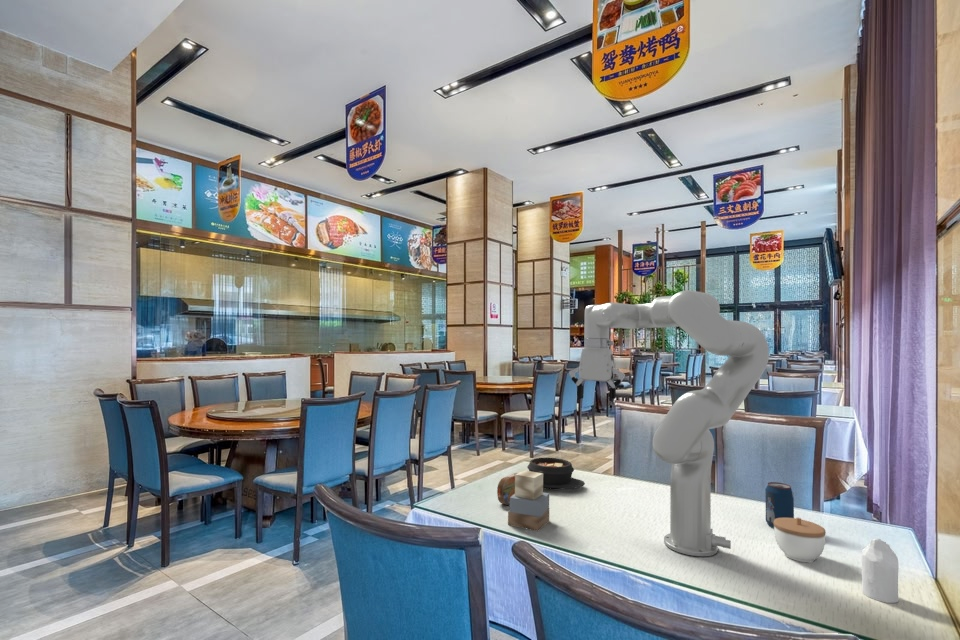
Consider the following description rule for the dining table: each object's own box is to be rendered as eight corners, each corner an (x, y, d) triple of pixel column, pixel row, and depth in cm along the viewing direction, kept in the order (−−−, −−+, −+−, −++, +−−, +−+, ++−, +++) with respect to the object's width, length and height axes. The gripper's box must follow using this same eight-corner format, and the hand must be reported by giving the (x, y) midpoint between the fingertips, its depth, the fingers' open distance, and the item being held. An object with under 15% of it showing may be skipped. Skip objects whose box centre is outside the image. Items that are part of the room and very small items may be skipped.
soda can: (796, 527, 138) (795, 485, 139) (791, 533, 133) (790, 489, 134) (768, 521, 143) (768, 480, 144) (763, 527, 138) (762, 484, 139)
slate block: (549, 507, 140) (549, 493, 140) (540, 517, 132) (540, 502, 132) (519, 502, 144) (520, 489, 144) (509, 512, 135) (509, 497, 136)
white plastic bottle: (891, 535, 102) (903, 545, 97) (892, 593, 102) (904, 606, 96) (856, 530, 104) (867, 540, 99) (857, 587, 104) (868, 600, 98)
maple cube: (542, 494, 139) (543, 473, 139) (533, 499, 134) (534, 477, 134) (524, 490, 142) (524, 470, 142) (514, 495, 137) (515, 474, 137)
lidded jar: (764, 547, 124) (764, 510, 125) (807, 548, 124) (806, 511, 124) (790, 566, 113) (789, 525, 114) (836, 567, 113) (836, 527, 114)
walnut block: (549, 522, 139) (549, 507, 139) (537, 532, 131) (538, 517, 132) (520, 516, 144) (520, 502, 144) (507, 525, 136) (508, 511, 136)
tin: (503, 508, 149) (503, 480, 150) (495, 506, 151) (495, 478, 152) (528, 496, 161) (529, 471, 162) (520, 494, 163) (521, 469, 164)
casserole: (507, 485, 174) (508, 461, 175) (530, 474, 190) (531, 452, 190) (573, 498, 161) (573, 472, 161) (592, 485, 177) (592, 462, 177)
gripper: (627, 345, 149) (627, 400, 148) (573, 344, 157) (572, 396, 157) (622, 344, 142) (621, 403, 142) (565, 343, 151) (565, 398, 150)
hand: (595, 399), depth 149 cm, fingers open, 9 cm apart
